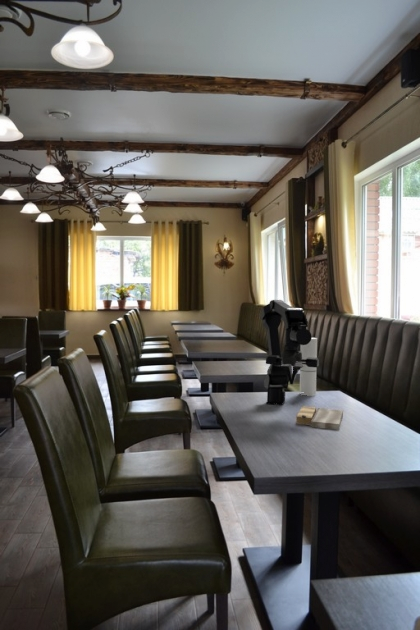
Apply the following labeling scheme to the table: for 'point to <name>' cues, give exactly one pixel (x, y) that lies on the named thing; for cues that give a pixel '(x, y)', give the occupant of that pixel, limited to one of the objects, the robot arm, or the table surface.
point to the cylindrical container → (308, 369)
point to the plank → (305, 415)
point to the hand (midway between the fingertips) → (291, 384)
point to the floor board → (327, 418)
